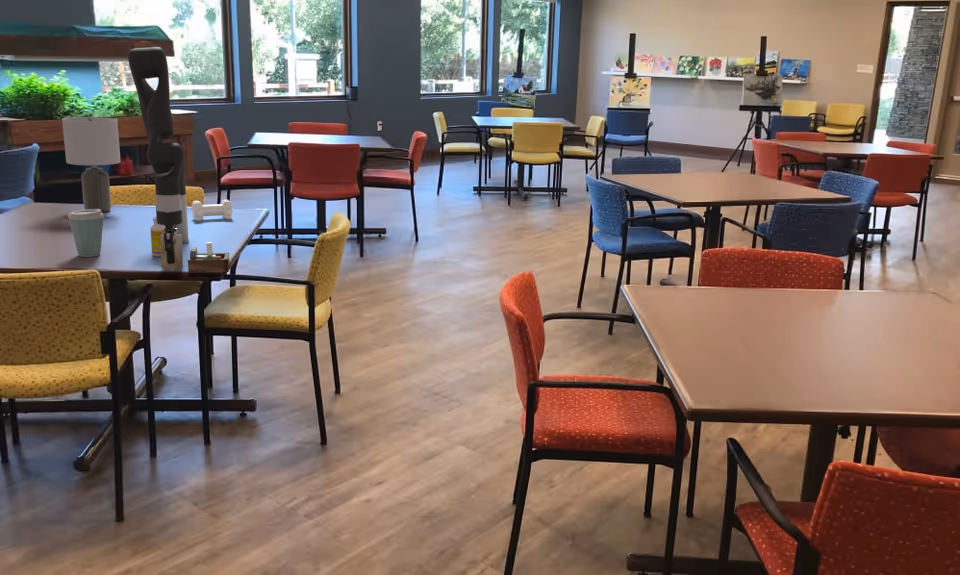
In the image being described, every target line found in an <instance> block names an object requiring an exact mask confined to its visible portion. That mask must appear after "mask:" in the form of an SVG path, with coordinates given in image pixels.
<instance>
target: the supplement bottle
mask: <svg viewBox="0 0 960 575" xmlns="http://www.w3.org/2000/svg"><path fill="white" fill-rule="evenodd" d="M152 222H153V224H152V225H151V226H150V239H151V240H150V243H151V254H152V256H154V257H158V258H161V241H160V235H162V234H163V230H164V229H165V225H160V224H158V223H157V218H156V216H153V217H152Z"/></svg>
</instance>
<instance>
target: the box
mask: <svg viewBox="0 0 960 575" xmlns="http://www.w3.org/2000/svg"><path fill="white" fill-rule="evenodd" d="M160 241H161V257H160V263H161V264H160V265H161V266H160V267H161V269H162V270H166V271H170V272H171V271H172V272H176V271H179V270H182V269H183V268H184V264H183V261H184V260H183V243H182V235H180V234H177V236H176V245H174V249H175V251H174V254H175V263H174V264H168V263H167V252H166V251H165V244H164V236H163V234H162V235H160ZM173 241H174V237H173ZM168 247H172V246H171V245H168Z"/></svg>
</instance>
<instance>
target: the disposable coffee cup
mask: <svg viewBox="0 0 960 575" xmlns="http://www.w3.org/2000/svg"><path fill="white" fill-rule="evenodd" d="M67 218H68V220H69V224H70V228H71V232H72V236H73V241H74V244H75V247H76V251H77V254H78V256H79V257H81V258H82V257H84V258H91V257H98V256H100V255H101V252H102V251H101V250H102V238H103V227H104V226H103V224H104V212H103V213H102V212H101V210H100V209H88V210H85V209H81V210H80V209H79V210H75V211H72V212H69V214H68V215H67Z"/></svg>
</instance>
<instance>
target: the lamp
mask: <svg viewBox="0 0 960 575" xmlns="http://www.w3.org/2000/svg"><path fill="white" fill-rule="evenodd" d="M61 119H62V120H61V121H62V133H63V142H64V152H65V153H64V154H65V162H66V164H67V165H68V164H69V165H74V166H91V167H87V168H85V169H84V170H85V171H83V172H82V173H81V175H80V180H81V188H82V201H83V208H84V209H83V210H88V209H100V210H101V212H102V213H103V214H104V213H107V212H110V210H111V208H112V200H111V199H112V198H111V188H110V186H111V185H110V176H109V173H108V172H107V171H105V170H104V168H103V167H98V166H108V165H109V166H111V165H116V164H120V163H121V162H122V160H121V152H120V151H121V150H120V136H119V126H118V124H119V123H118V118H114V117H113V118H112V117H99V116H98V117H96V116H95V117H94V116H91V117H90V116H88V117H87V116H81V117H80V116H79V117H76V116H75V117H64V118H63V117H62V118H61Z"/></svg>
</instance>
